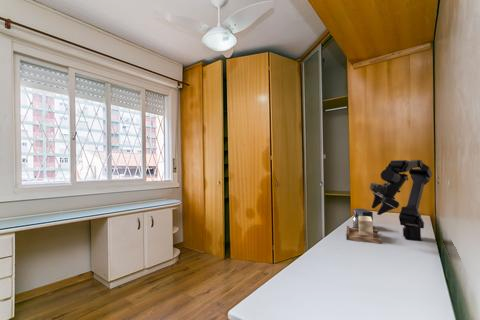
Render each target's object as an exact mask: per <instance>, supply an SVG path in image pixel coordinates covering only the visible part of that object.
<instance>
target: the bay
mask: <svg viewBox="0 0 480 320" xmlns="http://www.w3.org/2000/svg"><path fill="white" fill-rule="evenodd" d="M378 231H379V230H378V229H373V238H369V237H360V236H359V229H358V228H352V227H350V225H346V232H345V233H346V235H345V237H346V240H347V241H352V242H353V241H354V242H355V241H356V242H362V243H371V244H382V239H381V238H380V236H379V232H378Z"/></svg>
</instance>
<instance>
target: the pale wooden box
mask: <svg viewBox="0 0 480 320" xmlns="http://www.w3.org/2000/svg"><path fill="white" fill-rule="evenodd" d="M358 219H359V236H360V237H369V238H373V230H374V220H373V221H372V218H371V217H369V216H358Z"/></svg>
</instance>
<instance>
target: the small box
mask: <svg viewBox="0 0 480 320" xmlns="http://www.w3.org/2000/svg"><path fill="white" fill-rule="evenodd" d="M355 212H357V217H358V216H369V217H371V218H372V221H373V222H374V216H373V214H374V213H373V211H371V210H367V209H365V208H353V217H355Z"/></svg>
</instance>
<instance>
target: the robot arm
mask: <svg viewBox="0 0 480 320" xmlns="http://www.w3.org/2000/svg"><path fill="white" fill-rule="evenodd" d="M406 173H409V175H410V178H411V180H412V186H411V188H410V192H409V197H408V200H407V204H406V206H402V207H401V209H400V212H399V214H398V220H399V223H400V226H403V227H402V236H403V237H404V239H405V240H409V241H410V240H411V241H419V242H422V241H423V239H422V233H421V229H425V222H424V220H423V218H422V214H421V212H420V210H419V208H420V204H421V199H422V195H423V192H424V187H425V185H427V183H429V182H430V180H431V178H432V176H433V174H432V170H431V169H430V167H429V166H428V165H426V163H423V160H421V159H411V160H406V159H399V160H398V159H396V160H395V159H394V160H391V161H390V162H389V163H388V165H387V166H386V167H385V169H383V170H382V171H381V173H380V179H382V181H384V183H383V184H379V183H375V182H371V183H370V185H369V190H370V191H371V192H372V195H373V201H372V204H371V209H375V208H377V207H378V206H379V205H380V207H379V208H378V210H377V212H376V215H378V216H381V215H383V214H385V213H386V212H389V211H391V210H395V209H398V208H399V207H400V202H399V201H398V200H396V197H395V196H396V195H397V193H401V188H402V186H403V185H404V184H405V182H406V181H407V182H408V181H409V177H408V176H409V175H408V174H406Z"/></svg>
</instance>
